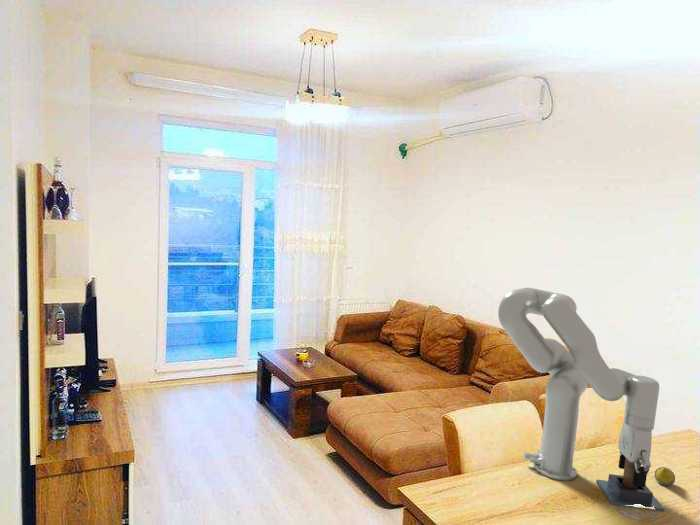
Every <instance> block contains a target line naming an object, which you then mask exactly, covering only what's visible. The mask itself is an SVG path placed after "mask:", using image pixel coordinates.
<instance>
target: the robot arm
mask: <svg viewBox="0 0 700 525" xmlns="http://www.w3.org/2000/svg"><path fill="white" fill-rule="evenodd" d="M498 306H499V307H498V309H497V310H498V311H497V315H498V320H499V322H500V326H501V327H502V329H503V331H504V332H505V333H506V334H507V336H509V338H510V340H512V342H513V343H514V345H515V346H516V348H517V350H518V351H519V352H520V353H521V354H522V356H523V357H524V359H525V360H526V361H527V363H528V364H529V366H530V367H531V368H532V369H533V370H534V371H536V372H538V373H541V374H545V373H548V374H549V375H550V378H549V380H548V381H547V383H546V388H545V409H544V418H543V426H542V427H543V428H542V435H541V444H540V445H541V446H540V450H537V452H534V453H531V452H524V453H523V459H524V460H529V463H533V468H534V469H535V470H536V471H537V472H539V473H540V474H542V475H543V476H545V477H548V478H551V479H552V480H558V481H573V480H574V479H576V478H577V476H578V471H577V469H576V468H575V467H574V466H573V464H574V463H573V461H574V454H575V446H576V445H575V444H576V438H577V432H578V431H577V430H578V422H579V421H578V420H579V412H580V407H579V406H580V398H581V396H582V395H583V394H584V393H585V392H586V390H587V388H588V385H589V386H590V387H591V389H592V390H593V391H594V392H595V393H596V395H598V397H600V398H601V399H602V400H604V401H608V402H616V401H619V400H620V399H622V398H623V397H624V396H626V402H625V408H624V409H625V410H624V414H623V415H624V416H623V423H622V426H621V430H620V435H619V440H618V450H619V460H618V468H619V469H621V470H624V467H625V459H626V458H627V459H628V460H629V461H630V462H631V463H633V462H634V464H635V470H636V471H634V475H633V482H632V484H633V485H634V486H639V487H645V485H646V482H647V477H648V475H649V472H650V469H651V466H652V463H651V461H650V459H651V454H652V441H653V440H652V435H653V432H652V430H654V429H655V423H656V415H657V408H658V400H659V393H660V384H659V381H657V380H656V379H654V378H652V377H649V376H646V375H645V376H644V375H636V374H634V373H631V372H628V371H625V370H622V369H619V368H613V367H612V368H611V367H609V365H607V363H606V361H605V360H604V358H603V357H602V355H601V353H600V351H599V347H598V344H597V339H596V336H595V334H594V333H593V331H592V330H591V329H590V328H589V326H588V325H587V324H586V322H584V320H583V319H582V318H581V317H580V315H579V314H578V313H577V307H578V306H577V305H576V302H575V300H574V299H573V298H572V297H571V296H569V295H567V294H564V293H558V292H553V291H548V290H542V289H538V288H534V287H523V288H518V289H514V290H511V291H509V292H508V293H505V295H504V296H503V298H502V299H501V301H500V303H499V305H498ZM528 314H533V315H537V316H542V317H543V318H544V319H545V321H546V322H547V323H548V324H549V325H550V327H551V329H552V330H553V331H554V332H555V334H556V335H557V336H558V337H559V339H560V340H561V342H562V343H563V344H564V345H565V346H566V347H565V346H564V345H563V344H562V343H560V342H559V341H557V340H556V339H554V338H545V337H544V336H543V334H541V332H540V330H538V328H537V327H536V326H535V325H534V324H533V323H532V322H531V321H530V320H529V319H528V317H527V315H528ZM567 349H568V350H567ZM638 460H640V461H638ZM638 464H640V465H641V467H640V468H639V465H638Z"/></svg>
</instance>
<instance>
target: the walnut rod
mask: <svg viewBox="0 0 700 525" xmlns="http://www.w3.org/2000/svg"><path fill="white" fill-rule="evenodd" d="M638 461H641V460H638ZM638 465H639V468H640V467H641V466H642V465H640V464H638ZM634 471H636V470H635V464H634V462H633V463H631V462H630V461H629V460H628V459H627V458H626V459H625V467H624V469H623V474H622V476H623V482H622V485H623V487H625V488H632V489H638V486H634V485H633V484H632V482H633V475H634Z"/></svg>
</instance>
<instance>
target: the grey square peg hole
mask: <svg viewBox="0 0 700 525" xmlns="http://www.w3.org/2000/svg"><path fill="white" fill-rule="evenodd" d="M622 482H623V475H618V474H611V473H608V480H603V479H596V480H595V483H596V484H597V485H598V487H599V489H600V491H601V492H602V493H603V495H604V496H605V497H606V500H607V501H608V502H609V503H610V504H611V505H612V506H613V505H614V506H622V507H625V506H624V505H634V504H641V505H643V506H645V507H653V506H654V508H655V509H656V510H655V511H656V512H657V511H658V512H665V507H664V506H663V505H662V504H661V502H659V500H658V499H657V498H656V496H654V493H653V492H652V491H651V490H650V488H649V487H648V486H647V485H646V484H645V487H639V486H638V489H632V488H625V487H623V485H622Z"/></svg>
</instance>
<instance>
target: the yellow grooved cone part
mask: <svg viewBox="0 0 700 525" xmlns="http://www.w3.org/2000/svg"><path fill="white" fill-rule="evenodd" d="M654 479H655V480H656V482H657V483H658V484H660V485H662V486H665V487H669V486H673V484H675V482H676V475H675V473H674V472H673V470H672V469H671V468H668V467H666V466H661V467H658V468H657V469H656V470H654Z"/></svg>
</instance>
